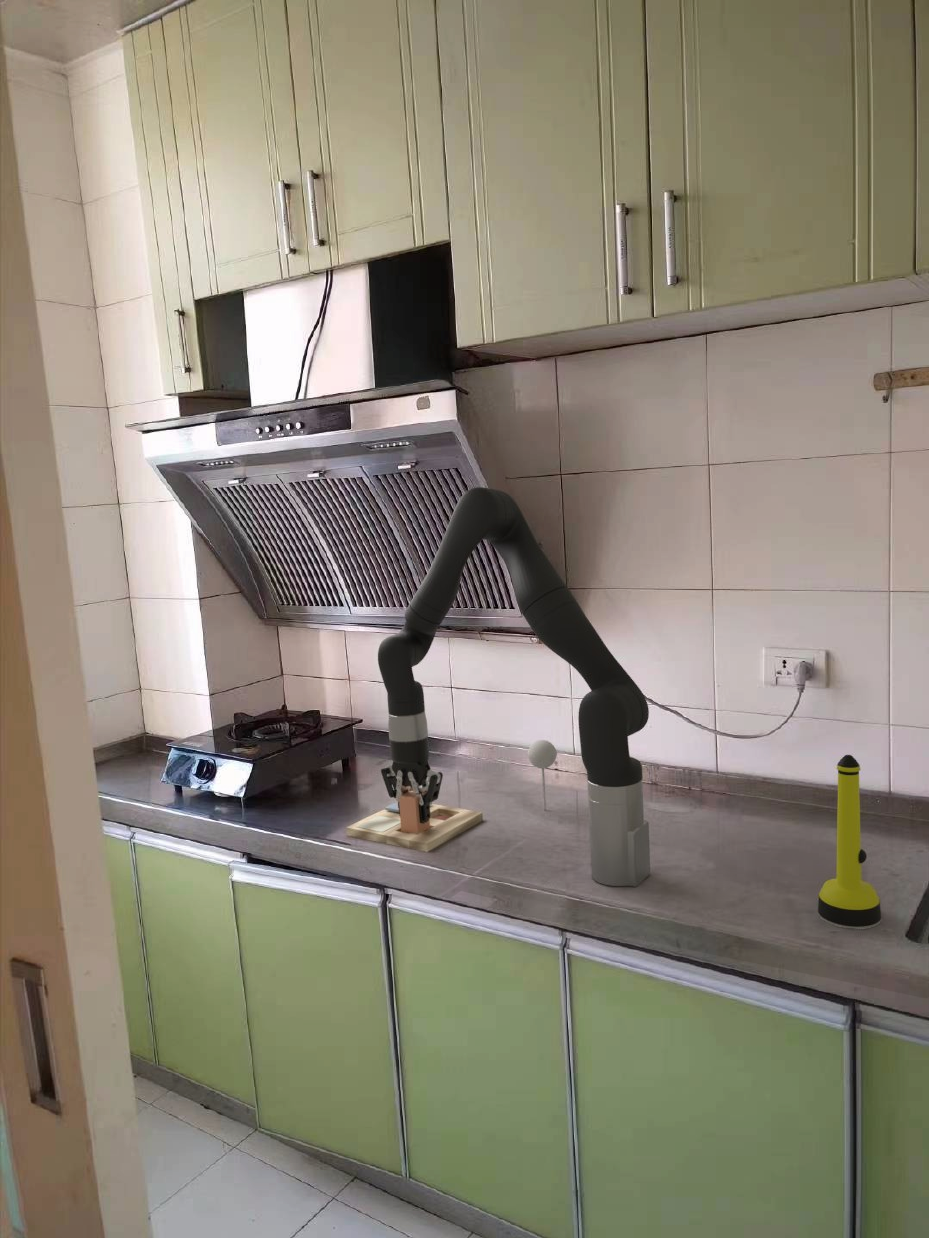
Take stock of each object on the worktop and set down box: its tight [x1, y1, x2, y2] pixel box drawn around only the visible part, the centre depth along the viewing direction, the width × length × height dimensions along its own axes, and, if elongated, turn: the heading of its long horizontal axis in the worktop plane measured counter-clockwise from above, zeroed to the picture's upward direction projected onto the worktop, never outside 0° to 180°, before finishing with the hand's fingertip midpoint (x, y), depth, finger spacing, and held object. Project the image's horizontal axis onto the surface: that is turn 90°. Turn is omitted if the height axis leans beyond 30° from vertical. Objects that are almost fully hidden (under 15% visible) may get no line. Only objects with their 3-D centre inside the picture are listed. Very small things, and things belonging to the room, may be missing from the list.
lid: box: [384, 787, 433, 812], centre depth 196 cm, size 7×7×5 cm
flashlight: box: [817, 754, 882, 930], centre depth 140 cm, size 25×9×9 cm
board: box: [345, 803, 484, 853], centre depth 189 cm, size 20×19×2 cm
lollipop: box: [527, 739, 558, 811], centre depth 195 cm, size 6×6×15 cm
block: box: [399, 791, 430, 834], centre depth 184 cm, size 4×4×7 cm
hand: (414, 820), depth 184 cm, fingers closed on block, 4 cm apart
